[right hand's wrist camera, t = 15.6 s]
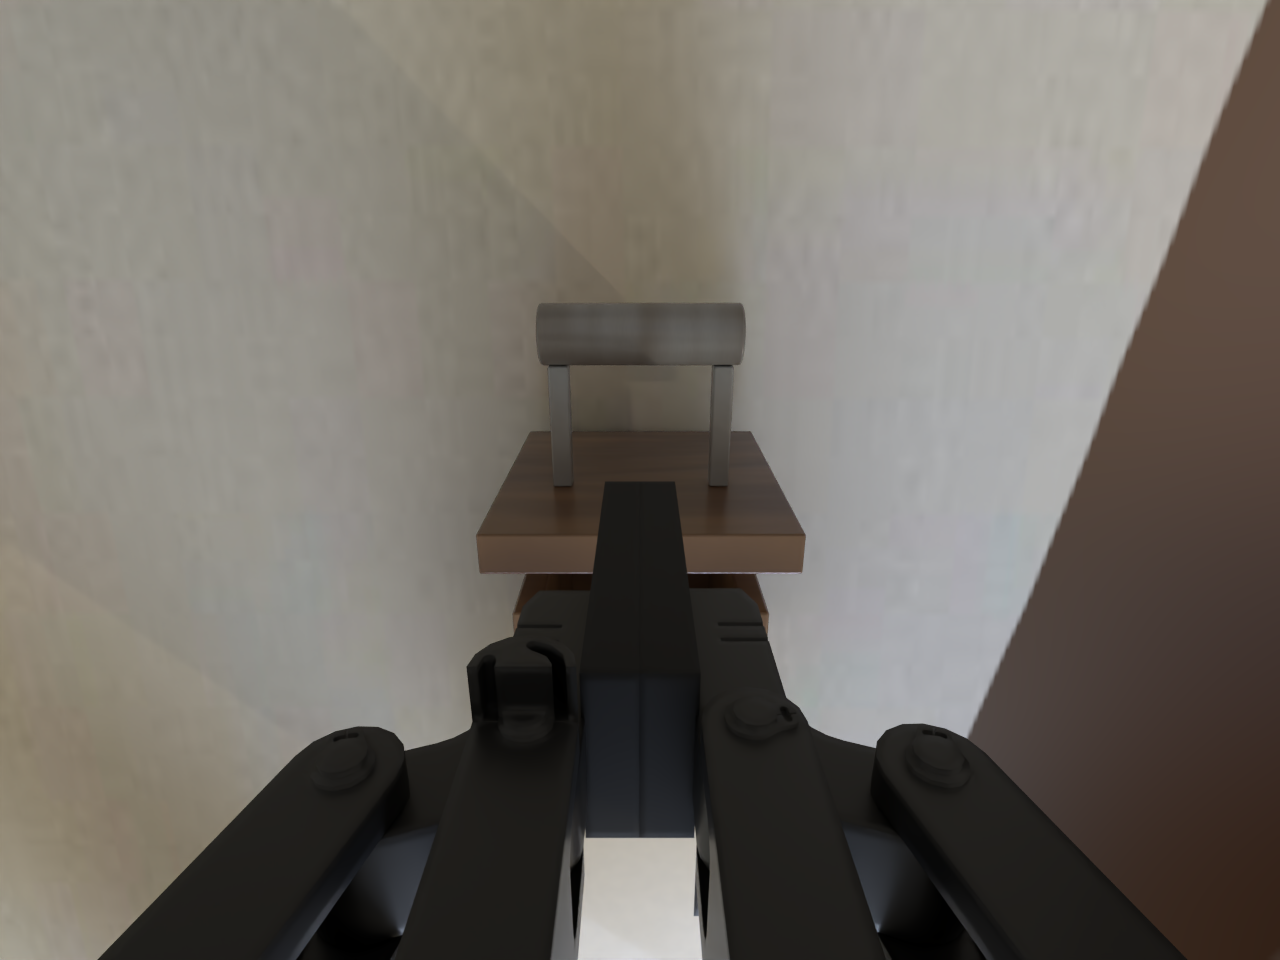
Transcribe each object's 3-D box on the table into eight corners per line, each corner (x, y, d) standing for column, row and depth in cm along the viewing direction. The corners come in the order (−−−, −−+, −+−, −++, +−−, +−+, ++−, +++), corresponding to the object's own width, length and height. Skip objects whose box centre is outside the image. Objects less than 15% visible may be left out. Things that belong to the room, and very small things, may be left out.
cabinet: (531, 613, 31) (474, 819, 20) (749, 613, 31) (807, 819, 20) (551, 913, 38) (517, 1183, 27) (729, 913, 38) (764, 1183, 27)
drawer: (521, 285, 25) (454, 321, 16) (760, 285, 25) (826, 320, 16) (551, 786, 33) (519, 992, 25) (729, 786, 33) (762, 992, 25)
